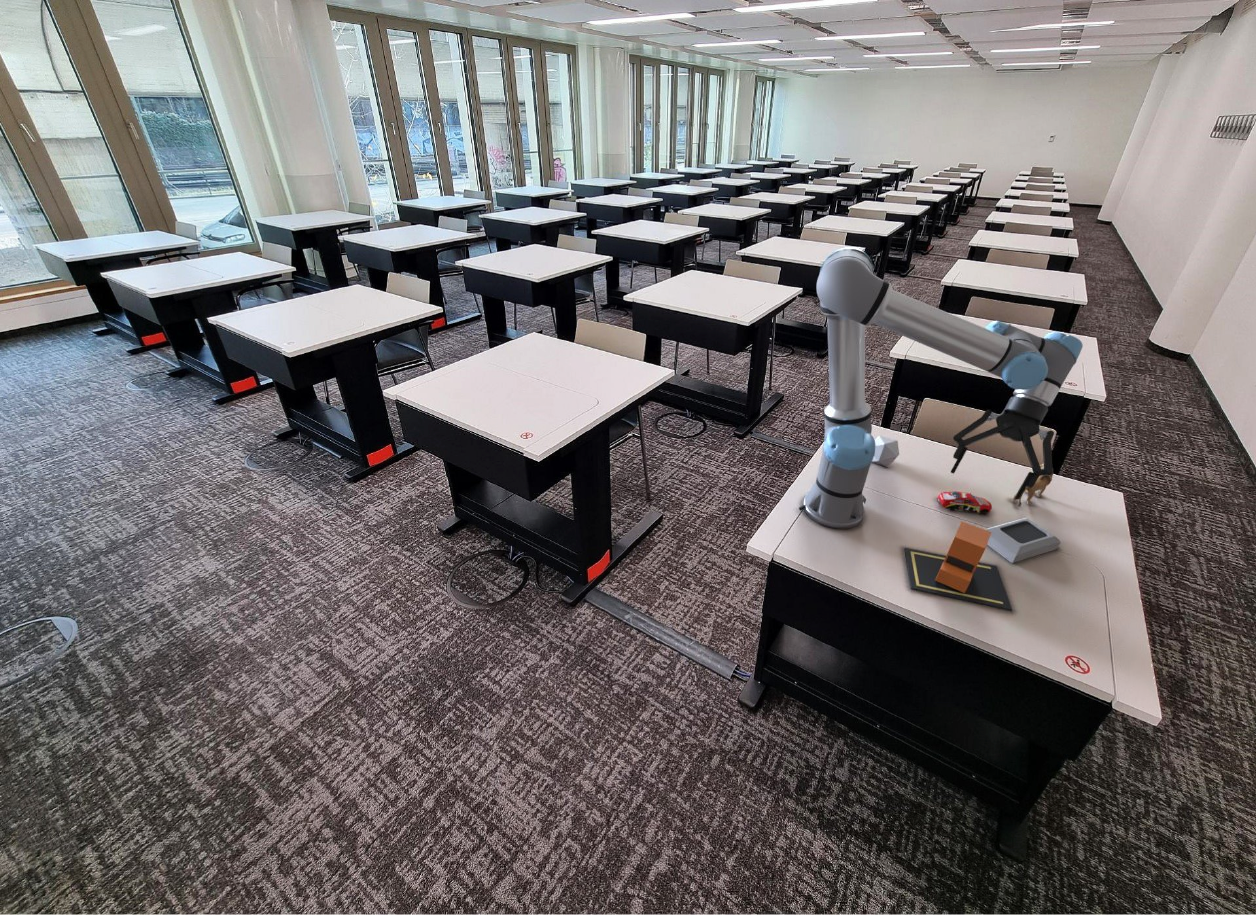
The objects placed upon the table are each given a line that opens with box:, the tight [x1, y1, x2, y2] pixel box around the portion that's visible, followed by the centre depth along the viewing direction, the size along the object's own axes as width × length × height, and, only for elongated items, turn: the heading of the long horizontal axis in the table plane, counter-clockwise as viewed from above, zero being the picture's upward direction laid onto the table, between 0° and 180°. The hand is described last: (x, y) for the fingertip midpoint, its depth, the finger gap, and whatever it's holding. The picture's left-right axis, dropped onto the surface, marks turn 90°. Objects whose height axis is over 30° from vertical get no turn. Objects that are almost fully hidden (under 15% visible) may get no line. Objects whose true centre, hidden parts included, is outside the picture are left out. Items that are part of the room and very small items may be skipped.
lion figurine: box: [1011, 462, 1054, 508], centre depth 146 cm, size 15×5×9 cm, turn 131°
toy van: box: [935, 520, 991, 593], centre depth 119 cm, size 10×6×12 cm, turn 141°
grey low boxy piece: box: [983, 517, 1061, 564], centre depth 132 cm, size 10×4×15 cm
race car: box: [936, 490, 993, 516], centre depth 144 cm, size 13×5×4 cm, turn 76°
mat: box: [903, 547, 1013, 612], centre depth 122 cm, size 20×14×1 cm
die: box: [871, 434, 900, 468], centre depth 161 cm, size 8×9×10 cm
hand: (983, 485), depth 123 cm, fingers open, 13 cm apart
